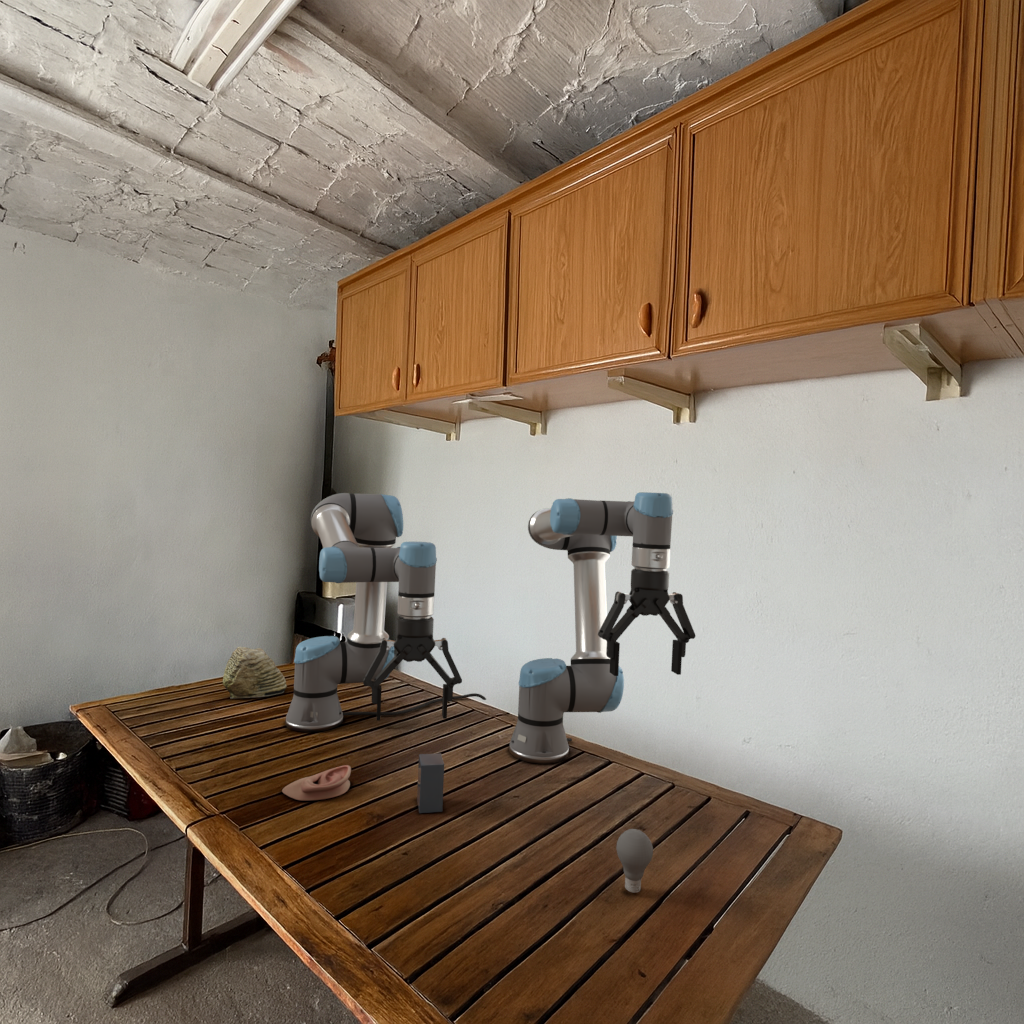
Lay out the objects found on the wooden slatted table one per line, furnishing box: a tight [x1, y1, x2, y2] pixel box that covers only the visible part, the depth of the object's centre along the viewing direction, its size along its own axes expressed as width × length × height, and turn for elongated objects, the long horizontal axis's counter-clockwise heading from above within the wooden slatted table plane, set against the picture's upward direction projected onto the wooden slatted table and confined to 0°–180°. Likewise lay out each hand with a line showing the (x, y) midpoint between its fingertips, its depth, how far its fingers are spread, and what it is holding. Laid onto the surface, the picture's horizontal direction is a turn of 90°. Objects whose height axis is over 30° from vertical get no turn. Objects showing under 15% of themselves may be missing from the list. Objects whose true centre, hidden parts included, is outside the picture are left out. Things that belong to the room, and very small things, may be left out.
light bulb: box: [615, 828, 654, 894], centre depth 106 cm, size 6×6×10 cm
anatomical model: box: [281, 764, 352, 802], centre depth 137 cm, size 13×4×12 cm
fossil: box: [222, 646, 288, 699], centre depth 198 cm, size 9×18×15 cm, turn 132°
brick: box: [416, 752, 445, 814], centre depth 132 cm, size 5×6×10 cm
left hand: (411, 717), depth 132 cm, fingers open, 13 cm apart
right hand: (645, 673), depth 128 cm, fingers open, 13 cm apart
